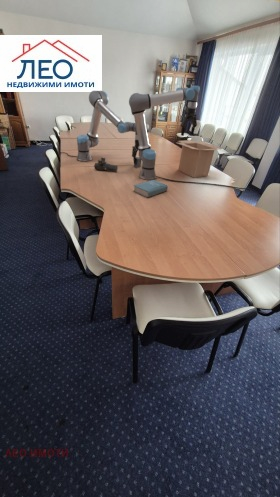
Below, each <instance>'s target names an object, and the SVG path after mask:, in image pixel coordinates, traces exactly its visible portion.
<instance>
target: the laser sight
mask: <svg viewBox="0 0 280 497" xmlns="http://www.w3.org/2000/svg"><path fill="white" fill-rule="evenodd" d="M93 167H94V169H95V170H97V171H103V172H116V173H117V172H118V170H119V169H118V168H119V166H118V165H116V164H111V163H107V162H106V157H101V159H98V160H97V162H95V163H94V164H93Z"/></svg>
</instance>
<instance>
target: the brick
mask: <svg viewBox="0 0 280 497" xmlns="http://www.w3.org/2000/svg"><path fill="white" fill-rule="evenodd" d="M133 167H135V168H137V169H138V168H142V160H141V159H140V158H139V156H136V164H134V163H133Z"/></svg>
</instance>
